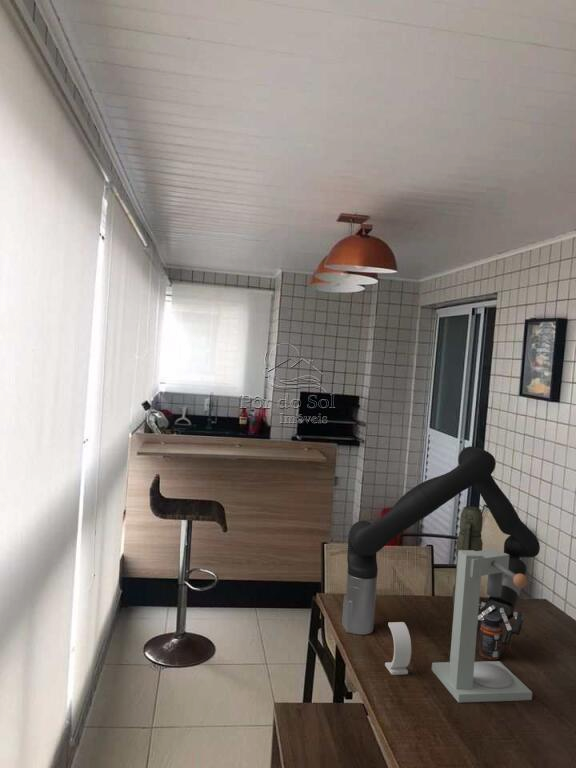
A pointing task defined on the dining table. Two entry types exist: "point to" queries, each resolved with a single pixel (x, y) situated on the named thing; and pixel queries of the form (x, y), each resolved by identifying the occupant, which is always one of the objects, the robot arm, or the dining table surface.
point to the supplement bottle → (490, 638)
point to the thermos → (469, 533)
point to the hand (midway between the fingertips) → (489, 639)
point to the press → (462, 670)
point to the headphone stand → (400, 648)
